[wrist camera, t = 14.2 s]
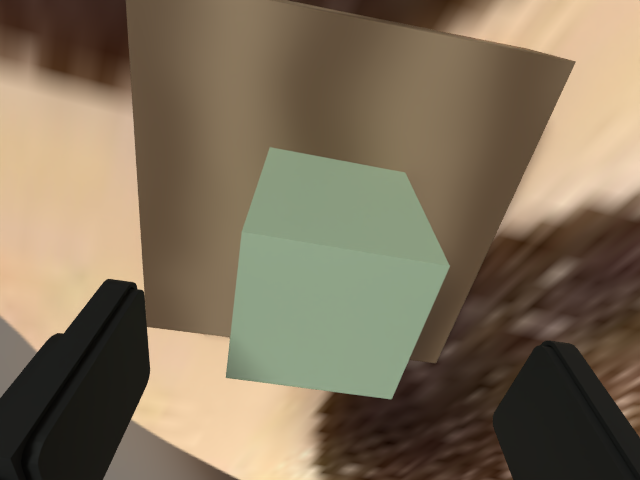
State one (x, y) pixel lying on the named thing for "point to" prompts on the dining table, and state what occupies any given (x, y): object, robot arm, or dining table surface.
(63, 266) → the dining table surface
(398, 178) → the green cube
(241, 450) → the dining table surface
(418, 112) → the walnut block
